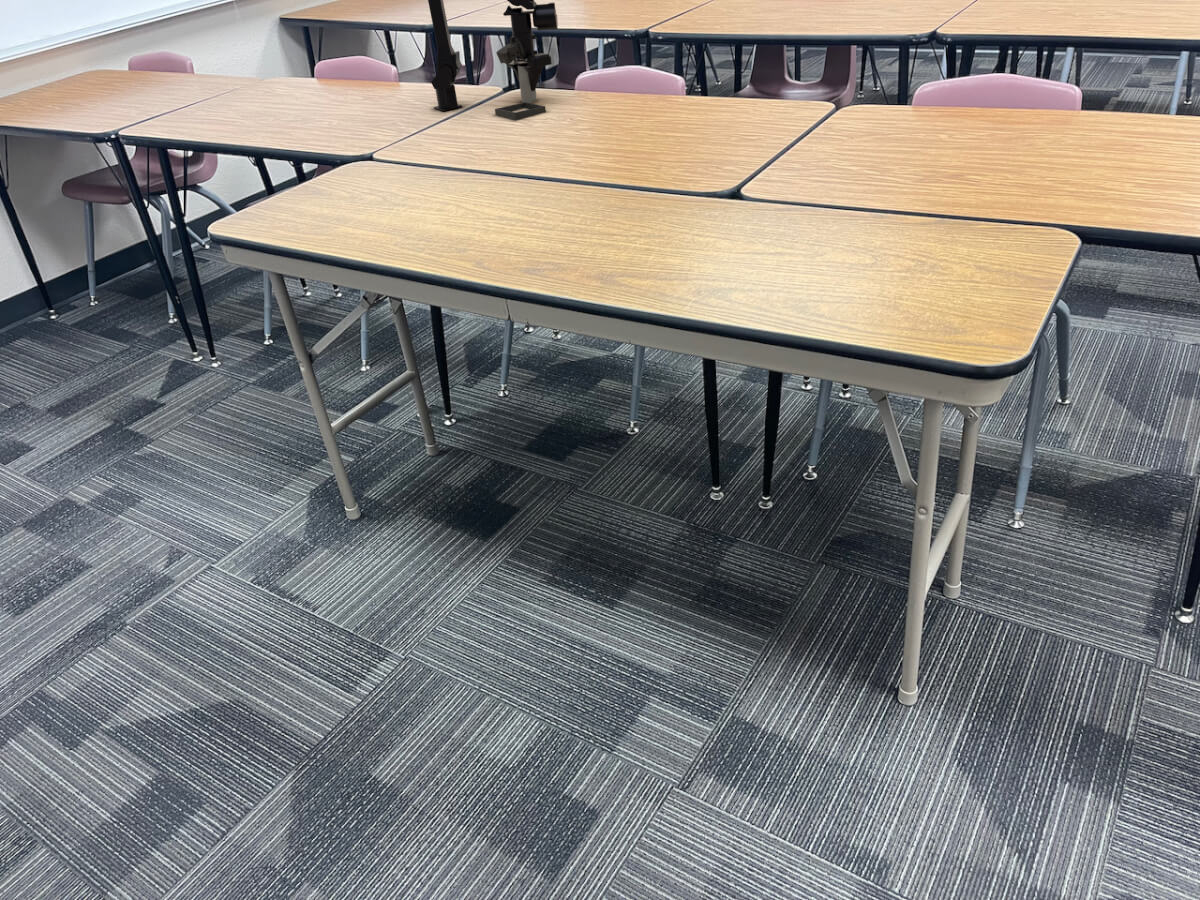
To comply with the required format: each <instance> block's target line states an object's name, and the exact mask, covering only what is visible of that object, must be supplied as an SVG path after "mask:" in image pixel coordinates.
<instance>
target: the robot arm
mask: <svg viewBox="0 0 1200 900" xmlns="http://www.w3.org/2000/svg"><path fill="white" fill-rule="evenodd" d="M506 1H507V2H508V3H509V4H511V5H512V6H514V7H511V5H507V8H506V10H505V11H504V12H503V14H502V15H503V16H504V17H507V16H510V24H511V32H512V33H511V34H512V36H509V40H508V41H509V43H507V44H506V45H504V46H502V47H501V48H500V49H498V50H497V51H496V52H495V53H496V56H497V58H498V61H499V62H500V63H499V64H505V65H506V66H507V67H509V68H510V69H512V70H513V72H514V74H515V76H516V78H517V80H518V83H519V84H520V82H519V73H518V65H519V64H521V63H527V64H528V66H527V67H523V68H524V69H525V70H526V71H527V72H528V76H529V82H530V87H531V91H535V89H536V90H537V86H538V83H539V80H540V76H541V74H542V72H543V69H544V68H545V67H546V66H551V65H552V64H553V62H552V61H553V60H552V56H551V55H550V54H549V53H545V52H541V53H538V50H537V49H535V45H534V40H536V39H537V35H536V34H534V33H533V27H534V28H535V29H537V31H549V30H550V31H552V30H553V31H554V30H559V29H558V28H559V24H558V14H557V9H556V2H548V3H541V4H540V3H539V4H537V2H536V1H535V0H506ZM427 2H428V7H429V11H430V12H429V13H430V18H431V22H432V23H431V24H432V28H433V34H434V39H435V43H436V74H435V76H434V77H433V79H432V80H431V82H430V83H431V85H432V87H433V89H434V90H435V96H436V100H437V102H436V103H437V105H436V106H433V109H434V110H439V111H443V112H445V111H450V110H454V109H459V108H463V104H458V98H457V92H456V85H455V83H456V78H457V77H458V76H459V75H460V73H461V67H462V66H463V64H462V62H461V56H460V55H461V54H460V51H459V50H457V51H455V50H454V47H453V46H452V41H451V35H450V31H449V25H448V18H447V14H446V9H445V8H446V7H445V3H444V0H427ZM523 8H524V9H525V10H524V9H523ZM531 15H532V17H531Z"/></svg>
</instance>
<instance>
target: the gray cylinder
mask: <svg viewBox="0 0 1200 900" xmlns="http://www.w3.org/2000/svg"><path fill="white" fill-rule="evenodd" d="M527 66H528V64H527V63H521V64H519V65H518V73H519V80H518V83H519V82H520V83H519V90H520V99H521V103H523V102H526V103H531V104H534V103H536V102H538V98H537V88H536V89H535V91H531V87H530V82H529V76H528V72H527V71H526V70H525V69H524V68H523V67H527Z"/></svg>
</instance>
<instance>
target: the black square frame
mask: <svg viewBox="0 0 1200 900" xmlns="http://www.w3.org/2000/svg"><path fill="white" fill-rule="evenodd" d="M522 109H524V110H522ZM546 110H547V109H546V105H542V104H536V103H526V102H523V103H522V102H519V103H515V104H511V105H507V106H501V107H496V108H494V114H495V116H497V117H500V118H504V119H507V120H510V121H520V120H523V119H527V118H530V117H534V116H537V115H540V114H545V113H546ZM515 111H516V112H515Z"/></svg>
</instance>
